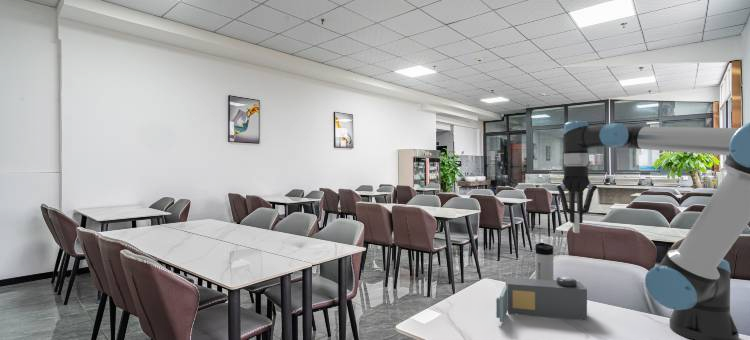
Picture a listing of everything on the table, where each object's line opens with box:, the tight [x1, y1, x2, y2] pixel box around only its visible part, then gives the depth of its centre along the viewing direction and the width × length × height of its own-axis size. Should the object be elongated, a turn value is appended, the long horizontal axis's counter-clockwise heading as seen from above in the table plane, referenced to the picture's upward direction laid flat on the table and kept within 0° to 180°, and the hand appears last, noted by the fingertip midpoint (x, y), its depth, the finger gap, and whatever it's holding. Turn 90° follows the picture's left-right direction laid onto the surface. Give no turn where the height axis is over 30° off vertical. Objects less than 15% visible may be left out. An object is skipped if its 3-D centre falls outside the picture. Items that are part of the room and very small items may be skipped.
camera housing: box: [505, 276, 588, 321], centre depth 123 cm, size 24×8×12 cm, turn 75°
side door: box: [495, 286, 508, 323], centre depth 118 cm, size 10×2×8 cm, turn 153°
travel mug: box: [534, 242, 554, 280], centre depth 137 cm, size 6×7×20 cm
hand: (576, 232), depth 127 cm, fingers closed
